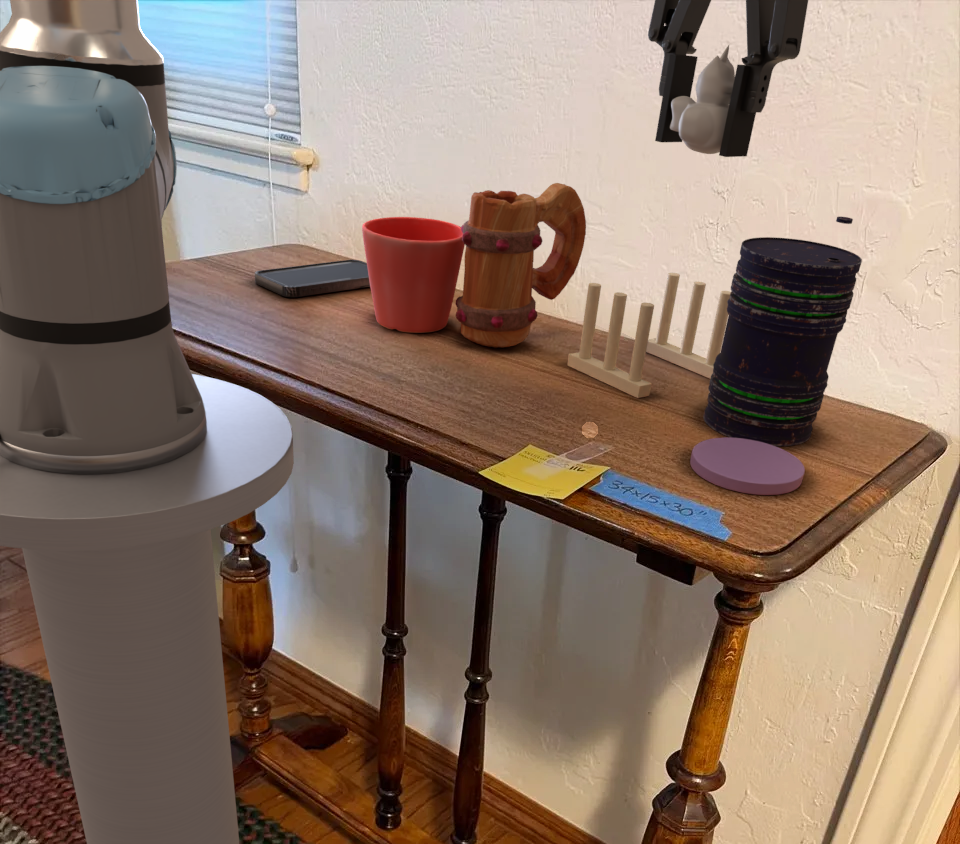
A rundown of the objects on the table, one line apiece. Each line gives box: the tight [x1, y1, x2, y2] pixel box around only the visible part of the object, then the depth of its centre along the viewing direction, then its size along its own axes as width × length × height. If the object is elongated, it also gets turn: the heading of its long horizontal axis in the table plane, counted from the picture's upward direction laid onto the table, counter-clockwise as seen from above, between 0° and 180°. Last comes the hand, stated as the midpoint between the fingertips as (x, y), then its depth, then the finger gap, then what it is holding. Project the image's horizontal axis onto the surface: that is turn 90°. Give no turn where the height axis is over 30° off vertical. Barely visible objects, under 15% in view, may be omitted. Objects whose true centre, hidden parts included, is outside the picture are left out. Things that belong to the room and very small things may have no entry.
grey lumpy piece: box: [670, 44, 736, 155], centre depth 80 cm, size 5×7×8 cm
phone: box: [254, 259, 371, 298], centre depth 113 cm, size 8×1×15 cm
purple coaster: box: [689, 437, 806, 496], centre depth 78 cm, size 9×9×1 cm
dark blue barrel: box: [703, 216, 863, 447], centre depth 81 cm, size 10×10×18 cm
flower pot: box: [361, 216, 466, 334], centre depth 101 cm, size 11×11×10 cm
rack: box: [567, 272, 731, 399], centre depth 94 cm, size 13×10×8 cm
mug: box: [455, 182, 587, 349], centre depth 98 cm, size 15×8×15 cm, turn 122°
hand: (700, 148), depth 82 cm, fingers closed on grey lumpy piece, 6 cm apart
